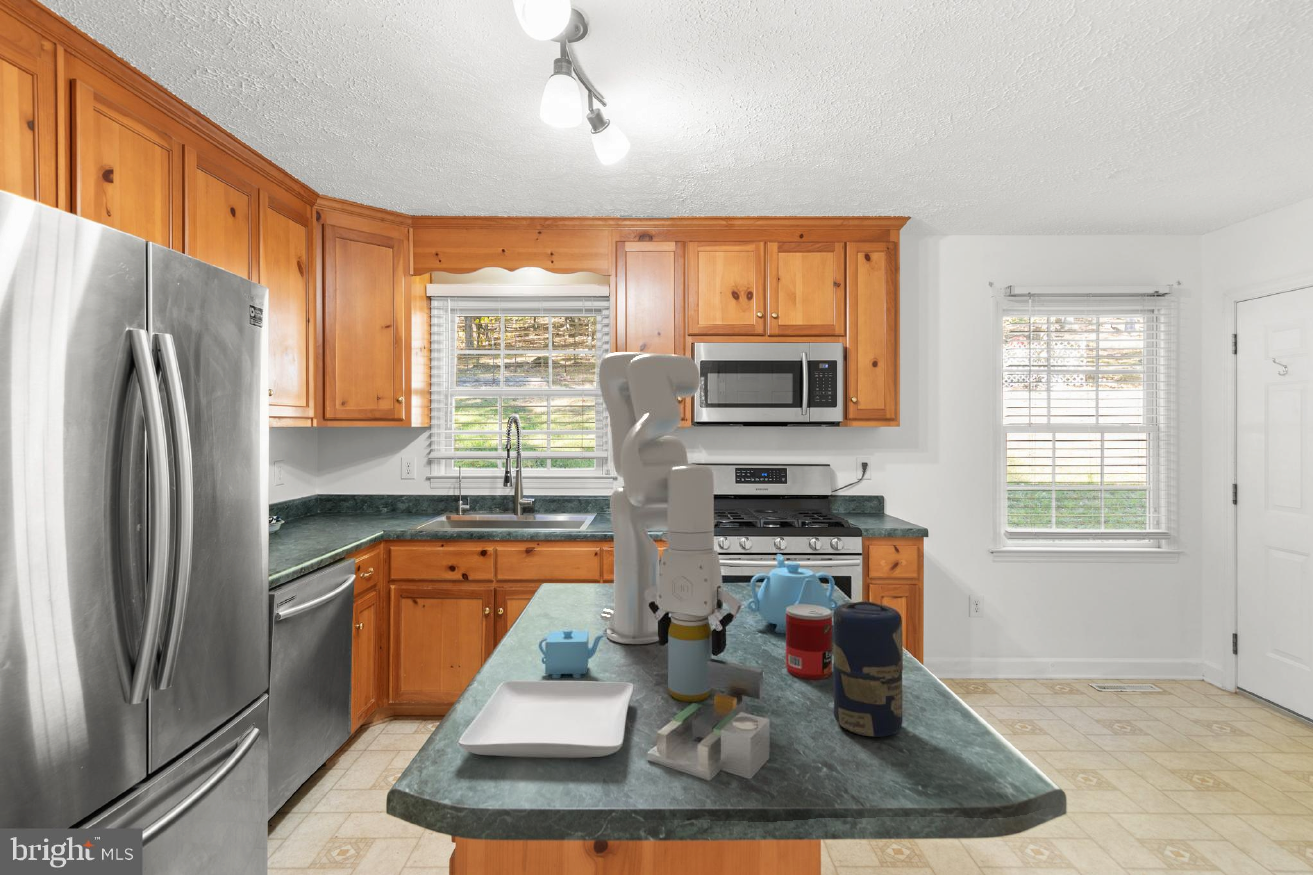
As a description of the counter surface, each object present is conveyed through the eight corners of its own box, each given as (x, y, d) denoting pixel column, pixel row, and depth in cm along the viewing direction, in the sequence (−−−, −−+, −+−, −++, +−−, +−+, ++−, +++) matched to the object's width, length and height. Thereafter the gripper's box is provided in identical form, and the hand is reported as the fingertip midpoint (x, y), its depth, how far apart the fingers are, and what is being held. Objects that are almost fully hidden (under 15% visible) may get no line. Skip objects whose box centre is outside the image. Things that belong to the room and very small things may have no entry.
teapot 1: (607, 665, 113) (607, 624, 113) (606, 678, 107) (606, 635, 107) (540, 666, 112) (540, 625, 112) (536, 679, 106) (536, 636, 106)
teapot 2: (778, 610, 149) (778, 552, 149) (853, 628, 135) (853, 564, 135) (736, 624, 138) (736, 561, 138) (812, 645, 124) (812, 575, 124)
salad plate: (501, 699, 99) (501, 677, 99) (634, 701, 98) (634, 679, 98) (454, 769, 78) (454, 742, 78) (622, 773, 77) (622, 745, 77)
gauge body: (647, 760, 80) (647, 718, 80) (688, 727, 89) (688, 690, 89) (740, 791, 73) (740, 745, 73) (774, 752, 82) (774, 712, 82)
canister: (895, 749, 83) (895, 614, 83) (824, 731, 88) (824, 604, 88) (908, 721, 91) (908, 598, 91) (843, 706, 96) (843, 590, 96)
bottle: (717, 689, 102) (717, 598, 102) (702, 706, 96) (702, 609, 96) (678, 682, 105) (678, 594, 105) (661, 698, 99) (661, 604, 99)
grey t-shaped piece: (675, 729, 85) (675, 681, 85) (710, 701, 94) (711, 658, 94) (730, 746, 80) (730, 695, 80) (762, 715, 89) (762, 669, 89)
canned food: (833, 681, 106) (833, 617, 106) (785, 677, 107) (785, 614, 107) (830, 665, 113) (830, 605, 113) (785, 662, 115) (785, 602, 115)
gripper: (633, 540, 102) (633, 645, 101) (729, 549, 92) (729, 664, 92) (657, 535, 108) (658, 634, 108) (749, 542, 99) (750, 651, 98)
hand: (691, 648), depth 100 cm, fingers open, 9 cm apart
